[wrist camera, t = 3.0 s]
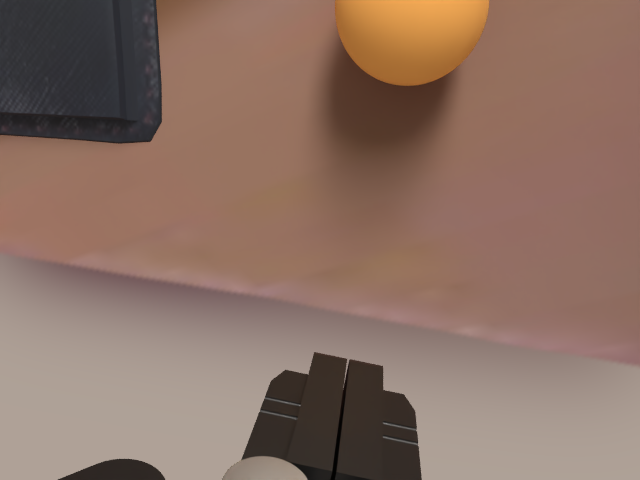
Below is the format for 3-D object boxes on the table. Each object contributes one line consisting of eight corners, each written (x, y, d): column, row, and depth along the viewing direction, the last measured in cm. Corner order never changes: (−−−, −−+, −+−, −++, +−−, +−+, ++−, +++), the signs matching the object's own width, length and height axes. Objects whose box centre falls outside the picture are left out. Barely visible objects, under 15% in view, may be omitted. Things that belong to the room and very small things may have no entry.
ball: (491, -47, 23) (525, -89, 18) (458, 95, 25) (478, 99, 19) (354, -69, 24) (343, -115, 18) (331, 73, 26) (315, 71, 20)
